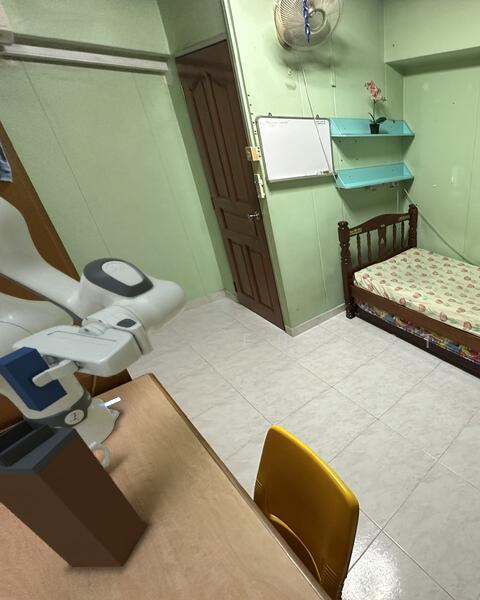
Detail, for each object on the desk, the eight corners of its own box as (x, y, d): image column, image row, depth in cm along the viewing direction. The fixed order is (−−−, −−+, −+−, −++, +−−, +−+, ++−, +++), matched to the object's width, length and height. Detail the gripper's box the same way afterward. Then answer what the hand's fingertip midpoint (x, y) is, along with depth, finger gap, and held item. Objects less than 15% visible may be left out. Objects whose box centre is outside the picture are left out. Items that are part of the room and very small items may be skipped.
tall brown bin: (71, 567, 62) (-49, 458, 45) (101, 526, 68) (5, 417, 51) (122, 566, 62) (21, 458, 45) (147, 526, 69) (67, 417, 52)
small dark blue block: (28, 409, 51) (-10, 362, 46) (56, 391, 55) (24, 346, 50) (40, 411, 51) (3, 364, 46) (68, 393, 54) (36, 348, 49)
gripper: (61, 311, 61) (-38, 355, 49) (148, 325, 58) (64, 376, 46) (76, 337, 64) (-13, 384, 53) (160, 352, 61) (84, 406, 49)
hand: (23, 381), depth 49 cm, fingers closed on small dark blue block, 2 cm apart
